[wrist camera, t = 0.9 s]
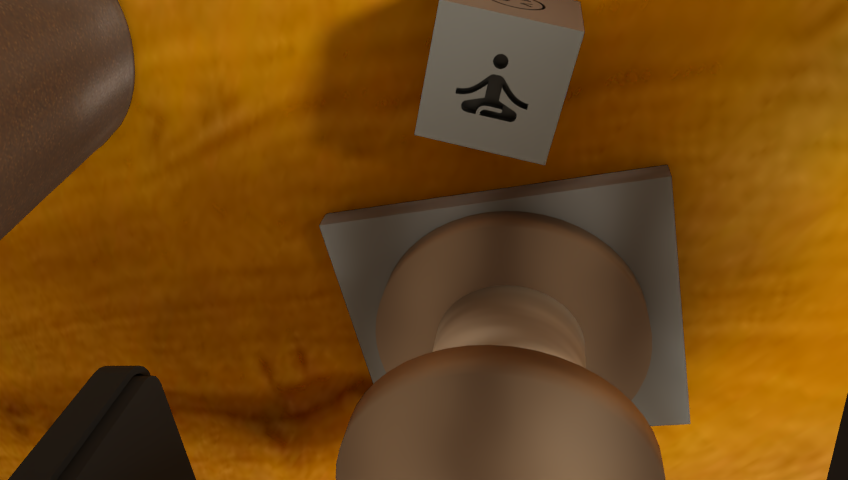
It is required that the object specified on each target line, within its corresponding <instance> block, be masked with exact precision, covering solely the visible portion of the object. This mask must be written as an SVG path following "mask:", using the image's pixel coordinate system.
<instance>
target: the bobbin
mask: <svg viewBox="0 0 848 480" xmlns="http://www.w3.org/2000/svg"><path fill="white" fill-rule="evenodd" d="M319 227H320V230H321V233H322V235H323V238H324V241H325V244H326V247H327V250H328V253H329V256H330V259H331V262H332V265H333V268H334V271H335V273H336V276H337V279H338V282H339V285H340V288H341V291H342V294H343V297H344V300H345V303H346V306H347V308H348V311H349V314H350V317H351V320H352V323H353V326H354V329H355V332H356V335H357V338H358V341H359V343H360V346H361V349H362V352H363V355H364V358H365V361H366V364H367V367H368V370H369V373H370V376H371V379H372V381H373V385H372V386H371V387H370V388H369V389H368V390H367V391H366V392H365V393H364V395H363V396H362V398H361V399H360V401H359V402H358V404H357V405H356V407H355V409H354V412H353V414H352V416H351V418H350V421H349V424H348V427H347V430H346V432H345V435H344V438H343V441H342V444H341V447H340V450H339V454H338V459H337V463H336V480H665V474H664V468H663V462H662V458H661V453H660V448H659V445H658V442H657V440H656V437H655V435H654V432H653V430H652V429H651V427H650V426H661V425H679V424H690V414H689V401H688V387H687V374H686V361H685V348H684V334H683V321H682V308H681V295H680V281H679V268H678V255H677V242H676V228H675V215H674V202H673V189H672V176H671V173H670V170H669V167H668V165H662V166H655V167H648V168H641V169H634V170H627V171H620V172H613V173H606V174H600V175H593V176H586V177H579V178H572V179H565V180H558V181H551V182H544V183H537V184H530V185H523V186H516V187H509V188H502V189H495V190H488V191H481V192H475V193H468V194H461V195H454V196H447V197H440V198H433V199H426V200H419V201H412V202H405V203H398V204H391V205H384V206H377V207H370V208H363V209H356V210H349V211H343V212H336V213H329V214H326V215H325V217H324V218H323V220H322V222H321V223H320V225H319Z"/></svg>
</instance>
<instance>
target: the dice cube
mask: <svg viewBox="0 0 848 480" xmlns="http://www.w3.org/2000/svg"><path fill="white" fill-rule="evenodd" d="M584 32H585V31H584V24H583V17H582V11H581V4H580V2H579V1H574V0H439V4H438V9H437V15H436V20H435V25H434V31H433V36H432V42H431V47H430V53H429V58H428V63H427V69H426V74H425V80H424V85H423V91H422V96H421V101H420V107H419V112H418V118H417V123H416V129H415V134H414V135H417V136H421V137H426V138H430V139H434V140H439V141H443V142H447V143H451V144H456V145H460V146H464V147H469V148H473V149H477V150H481V151H486V152H490V153H494V154H499V155H503V156H507V157H511V158H516V159H520V160H524V161H529V162H533V163H537V164H541V165H545V163H546V160H547V157H548V153H549V150H550V147H551V143H552V140H553V137H554V133H555V130H556V126H557V123H558V120H559V116H560V113H561V110H562V106H563V103H564V100H565V96H566V93H567V90H568V86H569V83H570V79H571V76H572V73H573V69H574V66H575V63H576V59H577V56H578V53H579V49H580V46H581V43H582V39H583V36H584Z"/></svg>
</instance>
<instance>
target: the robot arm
mask: <svg viewBox="0 0 848 480" xmlns="http://www.w3.org/2000/svg"><path fill="white" fill-rule="evenodd" d="M8 480H196V478H195V476H194V473H193V470H192V467H191V465H190V462H189V459H188V456H187V454H186V451H185V448H184V445H183V443H182V440H181V437H180V434H179V432H178V429H177V426H176V424H175V421H174V418H173V415H172V413H171V410H170V407H169V404H168V402H167V399H166V396H165V393H164V391H163V388H162V385H161V383H160V381H159V379H158V378H157V377H156V376H151V375H150V373H149V371H148V370H147V369H146V368H145V367H142V366H104V367H101V368H99V369H98V370H97V371H96V372H95V373H94V374H93V375H92V377H91V378H90V379H89V380H88V382H87V383H86V384H85V385H84V386H83V388H82V389H81V390H80V391H79V393H78V394H77V395H76V396H75V398H74V399H73V400H72V401H71V403H70V404H69V405H68V406H67V407H66V409H65V410H64V411H63V412H62V414H61V415H60V416H59V417H58V419H57V420H56V421H55V422H54V424H53V425H52V426H51V427H50V429H49V430H48V431H47V432H46V433H45V435H44V436H43V437H42V438H41V440H40V441H39V442H38V443H37V445H36V446H35V447H34V448H33V450H32V451H31V452H30V453H29V454H28V456H27V457H26V458H25V459H24V461H23V462H22V463H21V464H20V466H19V467H18V468H17V469H16V471H15V472H14V473H13V474H12V476H11V477H10V478H9V479H8ZM827 480H848V394H847V398H846V402H845V407H844V411H843V415H842V419H841V423H840V427H839V431H838V435H837V440H836V444H835V448H834V452H833V456H832V460H831V464H830V468H829V472H828V477H827Z"/></svg>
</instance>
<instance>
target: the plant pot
mask: <svg viewBox="0 0 848 480" xmlns="http://www.w3.org/2000/svg"><path fill="white" fill-rule="evenodd" d="M134 79H135V66H134V54H133V47H132V41H131V36H130V32H129V28H128V25H127V22H126V19H125V17H124V14H123V11H122V9H121V7H120V5H119V2H118V0H0V240H1V239H2V238H3V237H4V236H5V235H6V234H7V233H8V232H9V231H10V230H11V229H13V228H14V227H15V226H16V225H17V224H18V223H19V222H20V221H21V220H22V219H23V218H24V217H25V216H26V215H27V214H28V213H29V212H30V211H32V210H33V209H34V208H35V207H36V206H37V205H38V204H39V203H40V202H41V201H42V200H43V199H44V198H45V197H46V196H47V195H48V194H50V193H51V192H52V191H53V190H54V189H55V188H56V187H57V186H58V185H59V184H60V183H61V182H62V181H64V180H65V179H66V178H67V177H68V176H69V175H70V174H71V173H72V172H73V171H74V170H75V169H76V168H77V167H79V166H80V165H81V164H82V163H83V162H84V161H85V160H86V159H87V158H88V157H89V156H90V155H91V154H92V153H93V152H95V151H96V150H97V149H98V148H99V147H101V146H102V145H103V144H104V143H105V142H106V141H107V140H108V139H109V138H110V136H111V135H112V134H113V133H114V132H115V131H116V130H117V128H118V127H119V126H120V125H121V123H122V121H123V119H124V118H125V116H126V114H127V111H128V109H129V106H130V103H131V99H132V95H133V89H134Z"/></svg>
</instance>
